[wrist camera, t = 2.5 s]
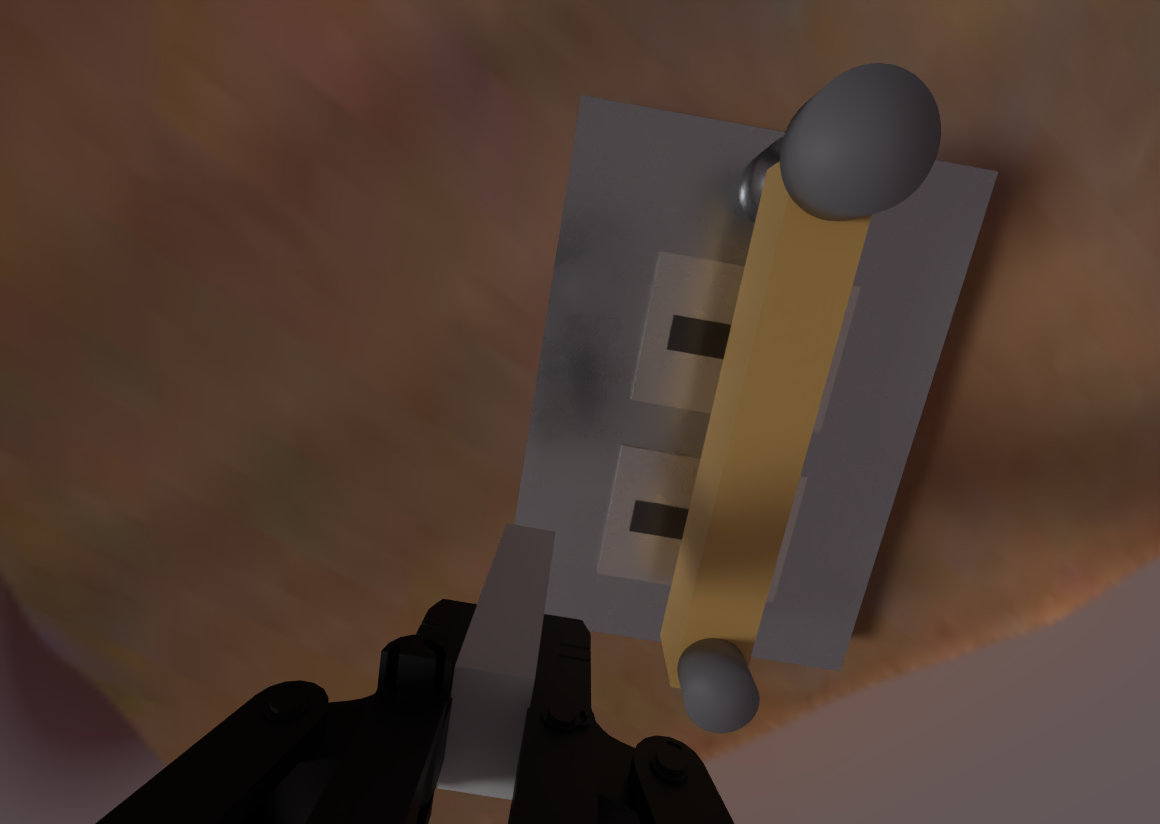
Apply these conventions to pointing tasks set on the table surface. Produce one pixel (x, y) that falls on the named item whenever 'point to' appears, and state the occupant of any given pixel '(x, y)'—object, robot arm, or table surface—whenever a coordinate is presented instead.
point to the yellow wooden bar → (784, 368)
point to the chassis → (692, 369)
